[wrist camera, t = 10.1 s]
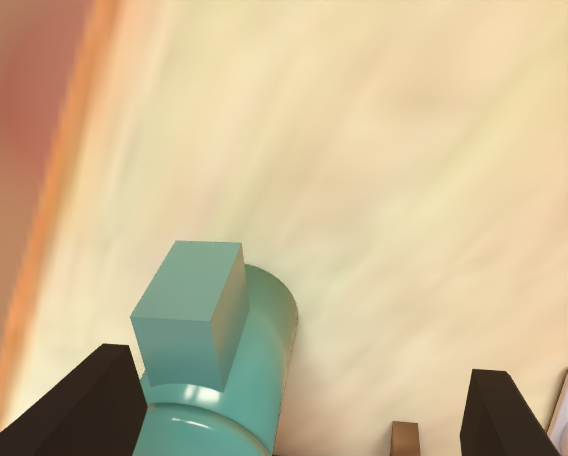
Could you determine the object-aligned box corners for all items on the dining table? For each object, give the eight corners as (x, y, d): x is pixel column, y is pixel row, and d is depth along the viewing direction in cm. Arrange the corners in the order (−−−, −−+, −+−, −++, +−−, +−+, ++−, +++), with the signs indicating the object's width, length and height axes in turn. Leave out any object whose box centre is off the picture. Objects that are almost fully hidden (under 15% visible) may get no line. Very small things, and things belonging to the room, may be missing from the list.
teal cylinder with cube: (296, 208, 19) (254, 365, 13) (304, 358, 23) (277, 535, 17) (158, 205, 20) (51, 351, 13) (190, 350, 24) (121, 516, 18)
